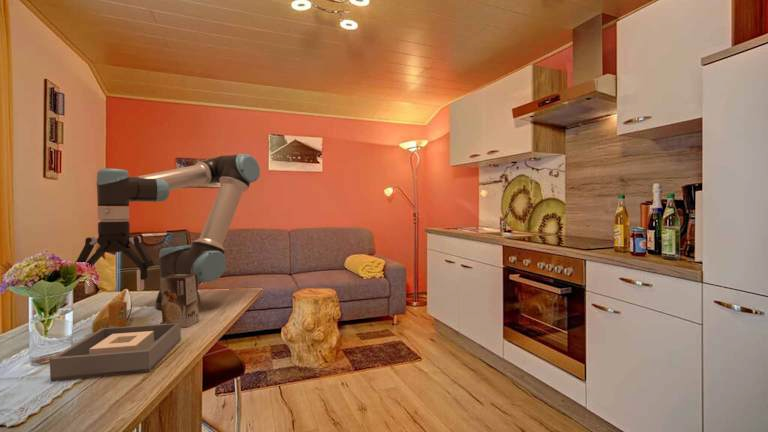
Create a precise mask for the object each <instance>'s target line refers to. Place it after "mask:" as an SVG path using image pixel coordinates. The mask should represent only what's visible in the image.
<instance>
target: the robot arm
mask: <svg viewBox="0 0 768 432" xmlns="http://www.w3.org/2000/svg"><path fill="white" fill-rule="evenodd" d="M260 174H261V169H260V166H259V162H258V161H257V159H256V158H255V157H254V156H252V154H251V155H250V154H247V153H245V154H244V153H238V154H232V155H231V154H229V155H219V156H215V157H212V158H208V159H205V160H201V161H198V162H197V161H196V163H194V165H189V166H184V167H180V168H174V169H173V168H172V169H168V170H163V171H157V172H154V173H148V174H144V175H137V176H130V175H129V171H128V170H127V169H121V168H101V169H99V170H97V173H96V183H95V184H96V193H97V194H96V195H97V198H96V199H97V200H96V201H97V220H99V222H98V223H97V233H98V237H94V236H89V237H86V238H85V242H84V246H83V248H82V250H81V252H80V254H79V255H78V257H77V259H76V261H75V263H76V262H85V263H86V262H87V263H89V265H90V264H91V266H92V265H93V266H94V265H95V264H96V263H97V262H98V261H99V260H100V259H101V258H102V257H103V255H104V254H105V253H112V252H113V253H120V252H121V253H123V254H125V255H126V257H128V258H129V260H131V261H132V263H134V264H135V265H136V266H137V268H139V269H136V292H142V291H143V290H145V280H147V278H148V268H151V267H153V266H154V265H155V262H154V261H153V259H152V258H151V255H150V254H149V252H148V250H147V248H146V247H145V245H144V244H143V237H142V236H140V235H139V236H134V237H131V236H130V232H131V231H130V229H131V228H130V226H131V225H130V222H129V221H128V220H130V202H135V203H137V202H139V203H140V202H141V203H142V202H145V203H146V202H150V203H151V202H153V203H157V202H165V201H166V200H167V199H168V198H169V196H170V191H175V190H178V189H183V188H187V187H191V186H194V185H199V184H201V185H209V184H220V187H219V189H218V191H217V195H216V197H215V199H214V201H213V203H212V207H211V208H210V211H209V214H208V216H207V219H206V221H205V222H204V226H203V228H202V231H201V233H200V236H199V238H198V239H195V240H193V241H192V243H191V244H188V245H187V244H186V245H180V246H172V247H164V248H161V249H160V250H159V253H158V254H159V255H158V261H159V285H160V287H159V290H158V293H157V296H156V298H155V309H156V310H159V311H162V302H161V279H160V278H162V277H165V276H168V275H171V274H197V283H211V282H215V281H216V280H218V279H219V278H220V277H221V276H223V274H224V272H225V270H226V268H227V260H226V259H227V258H226V256H225V251H226V250H225V248H224V243H225V239H226V237H227V236H228V233H229V232H228V231H229V230H230V227H231V224H232V222H233V221H232V220H233V219H234V217H235V213H236V211H237V208H238V205H239V203H240V200H241V198H242V195H243V193H244V192H246V191H249V187H250V185H251V183H254V182H256V181H257V180H258V179H259V178H260ZM130 243H132V245H134V247H135V249H136V251H137V252H138V253H136V252H135V251H134V250H133V248H132V247H131V246H130V245H129V244H130ZM97 244H98V245H99V247H98V248H97V249H96V251H95V252H94V253H93V254H92V255H91V253H92V251H93V249H94V247H95V245H97ZM138 254H139V255H138ZM90 255H91V256H90ZM88 258H89V259H88ZM87 266H88V265H87ZM93 266H92V267H93ZM82 283H84V294H85V295H88V294H91V293H94V292H95V289H94V287H95V286H94V285H95V284H93V282H92V283H90V282H89V283H90V284H89V285H90V286H88V285H87V283H86V281H83V282H82ZM200 303H201V295H200V293H199V292H198V305H199V304H200Z"/></svg>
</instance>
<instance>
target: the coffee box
mask: <svg viewBox="0 0 768 432" xmlns="http://www.w3.org/2000/svg"><path fill="white" fill-rule="evenodd" d="M160 279H161V302H162V310H161V321H162V323H161V324H170V323H180V328H188V327H190V326H192V325H195V324H196V323H198V322H199V320H200V317H199V316H200V315H199V304H198V293H199V289H198V287H199V286H198V281H197V274H171V275H168V276H165V277H162V278H160V277H159V280H160Z"/></svg>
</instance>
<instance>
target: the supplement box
mask: <svg viewBox="0 0 768 432" xmlns="http://www.w3.org/2000/svg"><path fill="white" fill-rule="evenodd" d="M127 305H128V302H127V301H121V300H117V301H115V302H111V303H108V328H111V327H126V326H128V324H127V322H128V321H127V318H128V317H127V316H128V315H127V308H128V307H127Z"/></svg>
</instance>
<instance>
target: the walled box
mask: <svg viewBox="0 0 768 432" xmlns="http://www.w3.org/2000/svg"><path fill="white" fill-rule="evenodd" d="M181 328H182V327H180V323H170V324H162V323H158V324H146V325H145V324H142V325H127V326H126V327H111V328H109V327H102V328H99V329H98V330H97V331H95V332H94V333H93V332H92V333H91V334H90V335H88V336H87V337H85V338H82V340H80V341H78V342H76V343H75V344H73V345H72V346H69V347H68V348H67V349H64V350H63V351H61V352H59V353H58V354H56V355H55V356H53V357H51V358H49V371H50V372H49V373H50V374H49V375H50V382H55V381H56V380H58V381H66V380H68V379H69V380H76V379H75V378H80V379H88V378H90V379H91V378H100V377H101V378H102V377H111V376H113V377H114V376H120V375H121V376H123V375H132V374H133V375H134V374H143V373H144V374H145V373H150V372H152V371H153V369H154V368H155V367H156V366H157V365H158V364H159V363H160V362H161V361H162V360H163V359H164V358H165V357H166V356H167V355H168V354H169V352H170V351H171V350H173V349H174V347H175V346H176V345H177V344H178V343H179V342H181V340H182V337H181V335H182V334H181V332H182V331H181V330H182V329H181ZM146 331H154V343H153V344H152V345H151V346H150V347H149V348H148V349H147V350H138V351H126V352H114V353H101V354H89V349H90V348H92V347H93V346H95V345H96V344H98V343H99V342H101V341H102V340H104V339H105V338H107V337H108V336H110V335H112V334H118V333H132V332H146Z"/></svg>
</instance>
